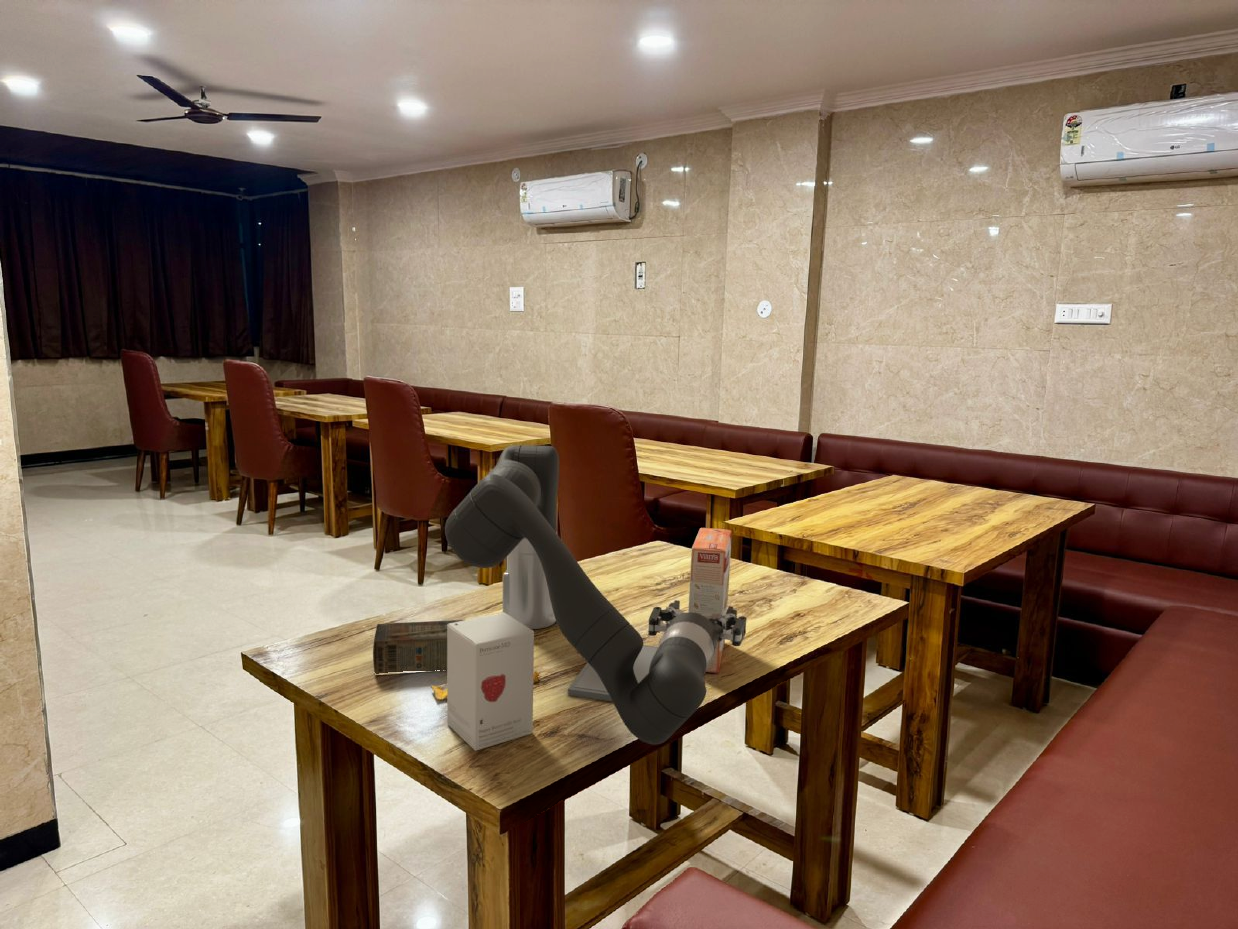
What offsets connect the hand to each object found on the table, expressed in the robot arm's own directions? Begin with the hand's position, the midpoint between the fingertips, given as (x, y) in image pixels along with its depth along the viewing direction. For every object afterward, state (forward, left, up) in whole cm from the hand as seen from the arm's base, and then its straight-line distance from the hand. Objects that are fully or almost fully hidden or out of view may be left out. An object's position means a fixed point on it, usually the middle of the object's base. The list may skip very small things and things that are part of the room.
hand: (704, 609), depth 129 cm
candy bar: (-31, -14, -12) cm, 36 cm away
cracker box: (0, +8, -12) cm, 14 cm away
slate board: (-12, -3, -11) cm, 17 cm away
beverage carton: (-43, -8, -12) cm, 45 cm away
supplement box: (-25, -26, -12) cm, 38 cm away
